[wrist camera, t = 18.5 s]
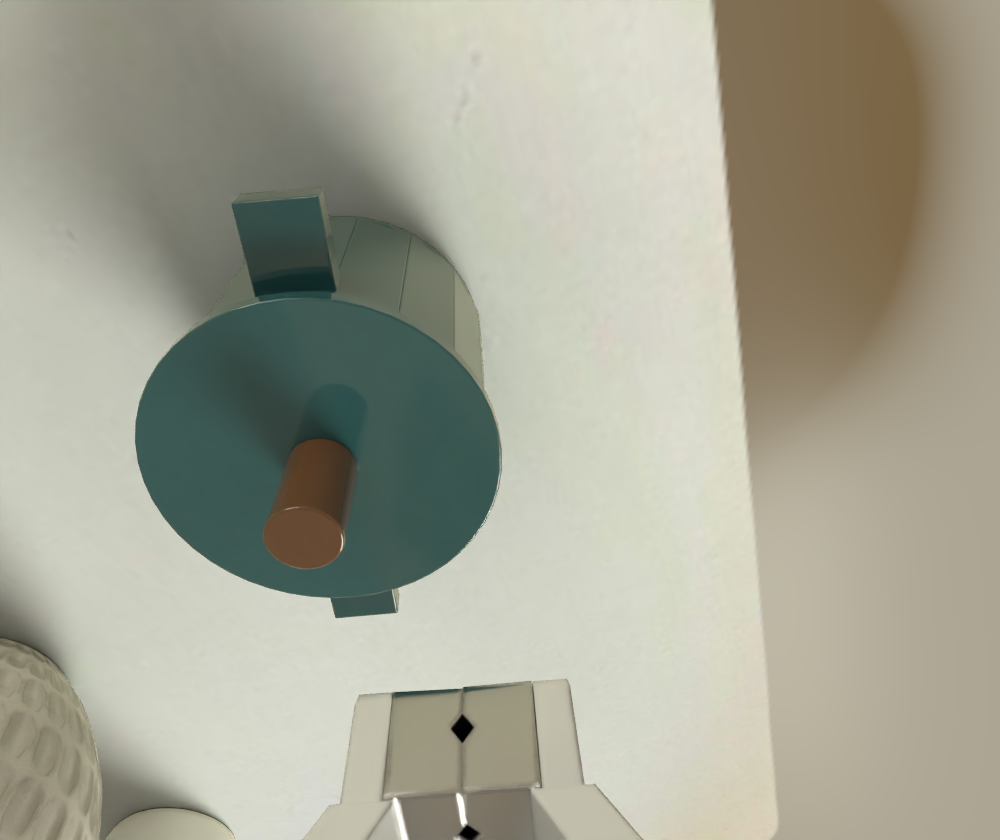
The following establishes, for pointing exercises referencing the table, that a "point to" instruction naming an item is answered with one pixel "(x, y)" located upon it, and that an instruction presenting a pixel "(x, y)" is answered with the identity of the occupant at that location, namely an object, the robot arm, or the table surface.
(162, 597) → the table surface
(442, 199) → the table surface
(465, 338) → the cooking pot
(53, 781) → the vase
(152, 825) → the cup
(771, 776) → the table surface
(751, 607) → the table surface
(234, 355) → the lid
